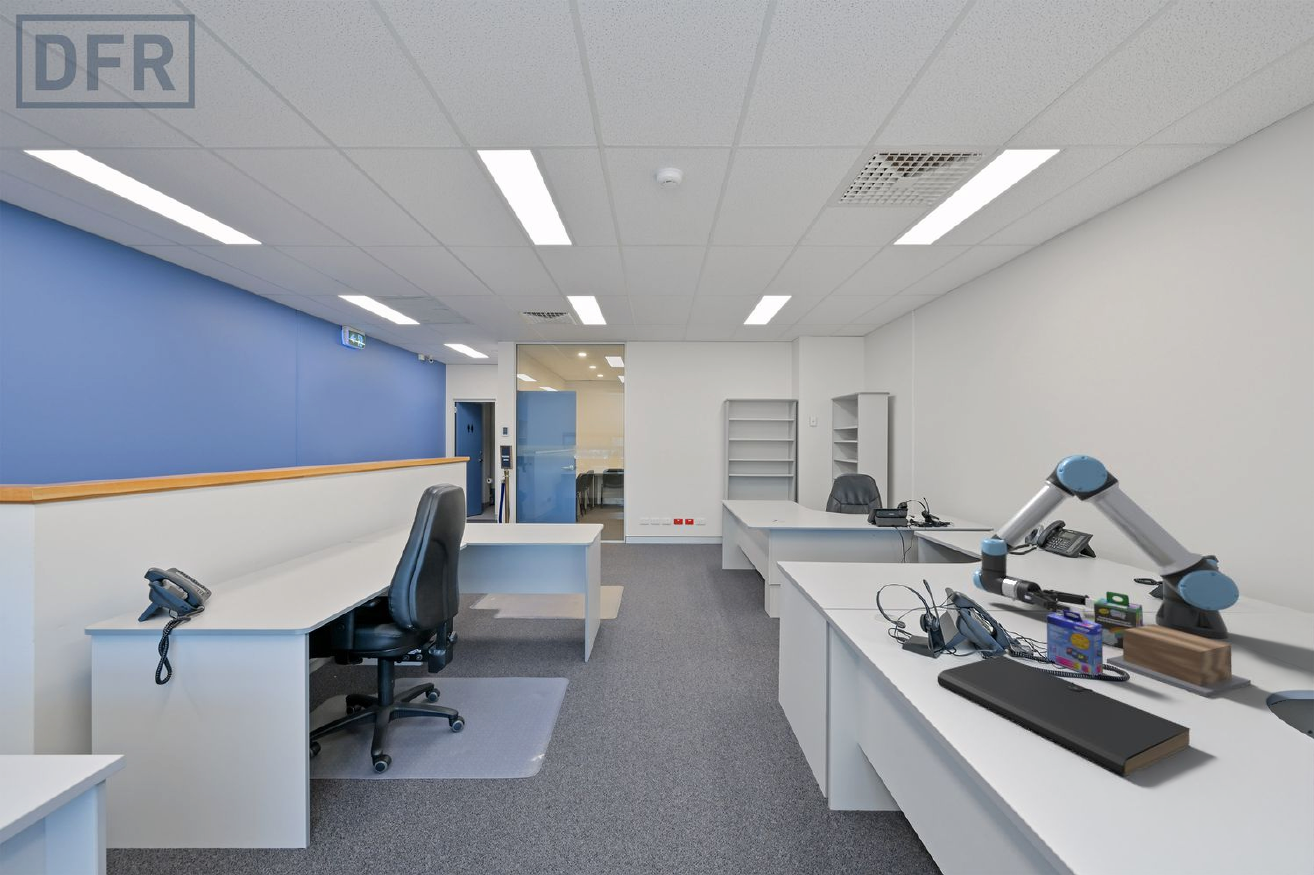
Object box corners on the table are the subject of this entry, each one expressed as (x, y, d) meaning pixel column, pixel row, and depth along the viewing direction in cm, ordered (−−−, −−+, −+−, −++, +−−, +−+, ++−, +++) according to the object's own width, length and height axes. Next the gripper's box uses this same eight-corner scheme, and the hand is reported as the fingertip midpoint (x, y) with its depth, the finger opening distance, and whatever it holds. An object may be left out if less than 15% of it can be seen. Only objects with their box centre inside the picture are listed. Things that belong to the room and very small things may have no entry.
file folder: (1190, 726, 87) (1122, 758, 78) (1191, 748, 87) (1122, 783, 78) (1002, 653, 117) (937, 670, 108) (1002, 670, 117) (937, 688, 108)
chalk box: (1144, 645, 134) (1143, 594, 134) (1138, 652, 129) (1137, 599, 129) (1100, 634, 142) (1100, 586, 142) (1093, 641, 136) (1092, 590, 137)
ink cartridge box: (1045, 661, 122) (1045, 605, 122) (1055, 657, 125) (1055, 603, 125) (1093, 677, 113) (1093, 618, 114) (1103, 673, 116) (1103, 615, 116)
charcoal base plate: (1150, 653, 128) (1150, 649, 129) (1250, 684, 112) (1250, 680, 112) (1106, 662, 122) (1106, 658, 122) (1206, 697, 105) (1205, 692, 105)
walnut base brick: (1154, 653, 126) (1153, 624, 126) (1231, 677, 112) (1231, 644, 113) (1123, 660, 121) (1123, 629, 121) (1200, 686, 108) (1199, 651, 108)
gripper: (1046, 598, 164) (1123, 619, 144) (997, 604, 155) (1071, 627, 135) (1046, 577, 164) (1122, 595, 144) (997, 582, 156) (1071, 602, 136)
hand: (1098, 611), depth 139 cm, fingers open, 13 cm apart
